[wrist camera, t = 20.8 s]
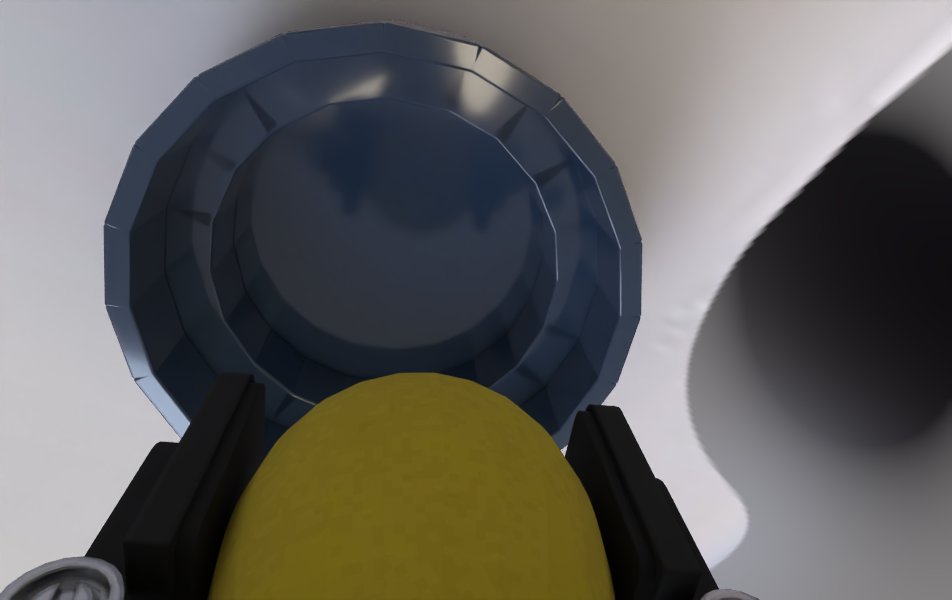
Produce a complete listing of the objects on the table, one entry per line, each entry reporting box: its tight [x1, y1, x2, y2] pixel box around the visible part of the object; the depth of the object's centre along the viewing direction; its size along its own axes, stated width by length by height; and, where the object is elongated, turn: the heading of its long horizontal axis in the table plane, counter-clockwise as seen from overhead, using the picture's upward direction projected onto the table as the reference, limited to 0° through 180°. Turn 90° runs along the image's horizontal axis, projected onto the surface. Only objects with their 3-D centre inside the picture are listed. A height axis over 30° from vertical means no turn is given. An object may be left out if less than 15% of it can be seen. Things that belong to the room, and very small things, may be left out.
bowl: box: [104, 20, 642, 459], centre depth 18 cm, size 13×13×5 cm
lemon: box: [207, 373, 615, 600], centre depth 9 cm, size 6×6×8 cm
